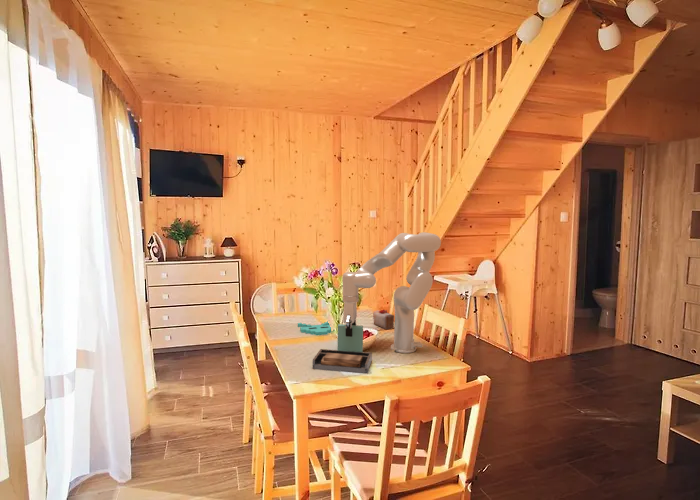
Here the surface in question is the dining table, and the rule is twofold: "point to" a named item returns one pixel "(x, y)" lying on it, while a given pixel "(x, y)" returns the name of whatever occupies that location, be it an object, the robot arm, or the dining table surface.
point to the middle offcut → (338, 363)
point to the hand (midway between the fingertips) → (350, 333)
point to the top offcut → (343, 358)
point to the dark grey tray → (363, 369)
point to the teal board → (350, 338)
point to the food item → (383, 319)
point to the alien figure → (315, 328)
